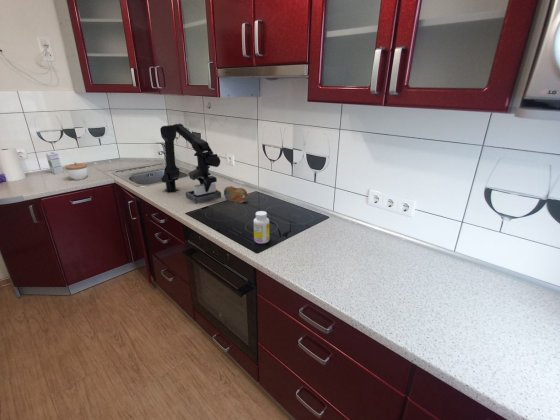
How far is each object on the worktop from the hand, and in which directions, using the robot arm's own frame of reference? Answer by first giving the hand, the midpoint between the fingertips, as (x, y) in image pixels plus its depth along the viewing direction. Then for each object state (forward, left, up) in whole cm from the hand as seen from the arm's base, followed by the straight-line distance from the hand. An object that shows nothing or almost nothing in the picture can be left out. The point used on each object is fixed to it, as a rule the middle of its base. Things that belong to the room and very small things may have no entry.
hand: (205, 190), depth 172 cm
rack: (-3, 0, -5) cm, 6 cm away
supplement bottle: (+61, -5, -5) cm, 61 cm away
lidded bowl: (-89, -50, -5) cm, 103 cm away
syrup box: (-114, -60, -5) cm, 129 cm away
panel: (0, 0, -1) cm, 1 cm away
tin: (+14, +12, -5) cm, 19 cm away
